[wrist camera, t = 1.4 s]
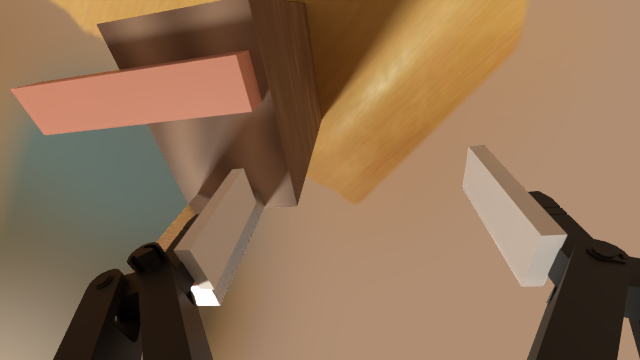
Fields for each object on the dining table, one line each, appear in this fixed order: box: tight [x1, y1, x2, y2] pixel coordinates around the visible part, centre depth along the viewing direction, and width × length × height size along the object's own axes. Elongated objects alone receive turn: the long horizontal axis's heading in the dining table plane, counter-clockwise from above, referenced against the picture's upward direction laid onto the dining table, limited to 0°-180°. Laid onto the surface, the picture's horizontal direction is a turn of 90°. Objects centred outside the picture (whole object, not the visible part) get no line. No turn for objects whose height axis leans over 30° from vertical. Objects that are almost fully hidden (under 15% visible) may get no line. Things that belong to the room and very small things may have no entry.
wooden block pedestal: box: [97, 0, 322, 208], centre depth 40 cm, size 14×21×30 cm, turn 8°
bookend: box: [131, 189, 265, 306], centre depth 27 cm, size 8×2×13 cm, turn 98°
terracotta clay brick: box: [10, 50, 262, 135], centre depth 25 cm, size 22×4×3 cm, turn 98°
